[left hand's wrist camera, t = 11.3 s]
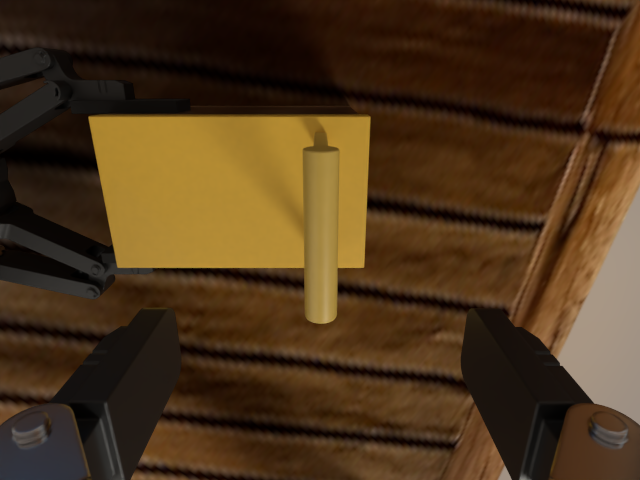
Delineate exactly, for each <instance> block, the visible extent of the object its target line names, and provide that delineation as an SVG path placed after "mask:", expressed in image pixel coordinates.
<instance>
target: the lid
mask: <svg viewBox="0 0 640 480" xmlns="http://www.w3.org/2000/svg"><path fill="white" fill-rule="evenodd" d="M88 118H89V124H90V129H91V134H92V139H93V144H94V149H95V155H96V160H97V165H98V170H99V175H100V180H101V185H102V191H103V196H104V201H105V206H106V211H107V216H108V221H109V227H110V232H111V237H112V242H113V247H114V252H115V258H116V263H117V267H118V268H304V283H305V316H306V318H307V319H308V320H309V321H311V322H314V323H328V322H331V321H333V320H334V319H335V318H336V316H337V273H338V268H364V257H365V234H366V210H367V187H368V163H369V140H370V116H369V115H93V116H89V117H88Z"/></svg>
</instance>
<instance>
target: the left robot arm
mask: <svg viewBox="0 0 640 480" xmlns="http://www.w3.org/2000/svg"><path fill="white" fill-rule="evenodd" d="M180 370H181V351H180V344H179V338H178V331H177V324H176V317H175V313H174V310H173V309H172V308H142V309H141V310H140V311H139V312H138V314H137V315H136V316H135V317H134V319H133V320H132V321H131V323H130V324H129V325H128V326H121V327H119V328H118V329H116V330H115V331H113V332H112V333H110V334H109V335H107V336H106V337H104V338H103V339H102V340H101V342H100V343H99V344H98V345H97V346H96V347H95V349H94V350H93V353H92V354H90V355H89V356H88V357H87V358H86V359H85V361H84V362H83V365H80V366H79V368H78V369H77V370H76V371H75V372H74V374H73V375H72V376H71V377H70V378H69V380H68V381H67V382H66V383H65V384H64V385H63V387H62V388H61V389H60V390H59V391H58V393H57V394H56V395H55V396H54V397H53V399H52V400H51V401H50V402H49V403H48V404H42V405H38V406H34V407H31V408H29V409H26V410H24V411H22V412H20V413H18V414H16V415H14V416H12V417H11V418H9V419H8V420H6V421H5V422H4V423H2V424H1V425H0V480H130V479H131V477H132V475H133V473H134V471H135V469H136V467H137V465H138V462H139V460H140V458H141V456H142V454H143V452H144V450H145V448H146V446H147V443H148V441H149V439H150V437H151V435H152V433H153V431H154V429H155V427H156V425H157V422H158V420H159V418H160V416H161V414H162V412H163V410H164V408H165V406H166V404H167V401H168V399H169V397H170V395H171V393H172V391H173V389H174V387H175V385H176V383H177V380H178V378H179V375H180ZM461 370H462V375H463V378H464V381H465V383H466V385H467V387H468V389H469V391H470V393H471V395H472V398H473V400H474V402H475V404H476V406H477V408H478V410H479V412H480V414H481V416H482V418H483V420H484V422H485V425H486V427H487V429H488V431H489V433H490V435H491V437H492V439H493V441H494V443H495V445H496V447H497V449H498V452H499V454H500V456H501V458H502V460H503V462H504V464H505V466H506V468H507V470H508V472H509V474H510V476H511V479H512V480H640V425H639V424H637V423H636V422H635V421H634V420H632V419H631V418H629V417H628V416H626V415H624V414H622V413H620V412H618V411H616V410H614V409H611V408H609V407H605V406H602V405H598V404H594V403H593V402H592V400H591V399H590V398H589V397H588V396H587V395H586V393H585V392H584V391H583V390H582V389H581V387H580V386H579V385H578V384H577V383H576V382H575V380H574V379H573V378H572V377H571V376H570V374H569V373H568V372H567V371H566V370H565V369H564V367H563V366H560V363H559V362H558V360H557V359H556V358H555V357H554V356H553V355H551V354H550V351H549V350H548V349H547V347H546V346H545V345H544V344H543V343H542V342H541V340H540V339H539V338H537V337H536V336H534V335H533V334H531V333H530V332H528V331H527V330H525V329H524V328H522V327H515V326H514V325H513V324H512V323H511V321H510V320H509V319H508V318H507V316H506V315H505V314H504V312H503V311H502V310H501V309H470V310H469V312H468V314H467V319H466V326H465V333H464V339H463V346H462V353H461Z"/></svg>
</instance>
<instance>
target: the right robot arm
mask: <svg viewBox="0 0 640 480" xmlns="http://www.w3.org/2000/svg"><path fill="white" fill-rule="evenodd" d="M72 65H73V60H72V57H71V56H70V54H69V53H67V52H66V51H63V50H55V49H47V48H32V49H29V50H26V51H22V52H19V53H16V54H12V55H9V56H5V57H2V58H0V90H1V89H5V88H8V87H11V86H15V85H18V84H22V83H25V82H29V81H32V80H36V79H39V78H43V77H45V79H46V81H43V82H44V83H48V84H46V85H45V86H43V87H42V88H40V89H39V90H37V91H36V92H34V93H32V94H31V95H29V96H28V97H26V98H25V99H23V100H22V101H20V102H19V103H17V104H15V105H14V106H12V107H11V108H9V109H8V110H6V111H5V112H3V113H2V114H0V154H1V153H2V152H4V151H6V150H7V149H9V148H10V147H12V146H14V145H15V144H16V143H15V142H17V141H18V140H20V139H21V138H23V137H25V136H26V135H28V134H29V133H31V132H33V131H34V130H36V129H37V128H39V127H41V126H42V125H44V124H45V123H47V122H49V121H50V120H52V119H53V118H55V117H57V116H58V115H60V114H61V113H63V112H65V111H66V110H68V109H69V108H71V111H72V114H107V113H181V112H185V111H189V110H191V107H190V99H135V95H134V88H133V83H130V82H128V81H125V80H84V79H82V78H80V77H79V76H78V75H77V74H76V72H75V71H74V69H73V67H72ZM0 239H9V240H11V241H13V242H16V243H18V244H20V245H23V246H25V247H27V248H30V249H32V250H34V251H37V252H39V253H41V254H43V255H46V256H48V257H44V256H40V255H35V254H31V253H26V252H21V251H12V250H8V251H5V248H4V247H3V246H2V245H0V280H4V281H9V282H13V283H18V284H23V285H27V286H32V287H37V288H41V289H46V290H51V291H56V292H60V293H65V294H70V295H74V296H79V297H84V298H89V299H97V298H98V297H99V296H100V295H101V294H102V293H103V292H104V291H105V290H106V289H107V288H108V287H110V286H111V284H112V283H113V282H114V281H115V275H114V274H148V273H151V272H153V271H154V270H155V269H156V268H118V267H117V263H116V258H115V252H114V247H113V244H112V245H111V246H110V247H108V246H105V245H103V244H101V243H99V242H96V241H94V240H92V239H90V238H87V237H85V236H83V235H81V234H78V233H76V232H74V231H72V230H70V229H67V228H65V227H63V226H61V225H58V224H56V223H54V222H52V221H49V220H47V219H45V218H43V217H40V216H38V215H36V214H34V213H33V210H32V209H31V208H29V207H27V206H25V205H23V204H20V203H18V202H16V197H15V193H14V190H13V188H12V187H11V185H10V183H9V181H8V168H7V164H6V161H5V158H0ZM49 257H50V258H49Z"/></svg>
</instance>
